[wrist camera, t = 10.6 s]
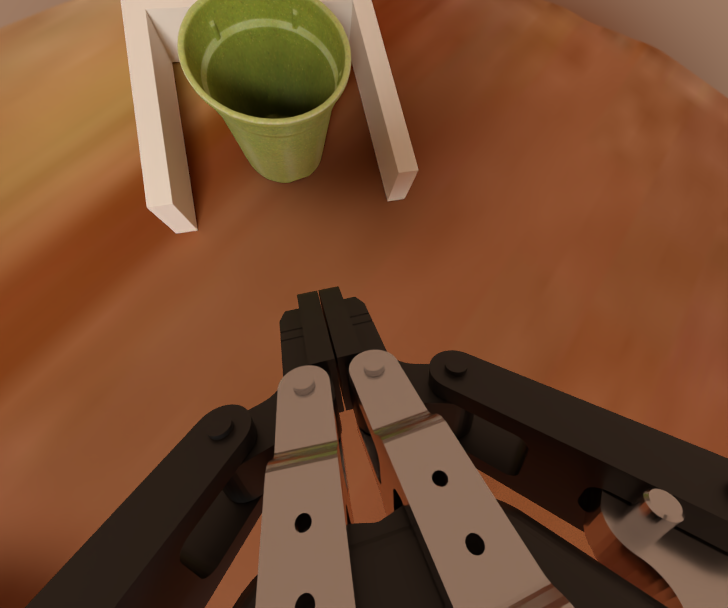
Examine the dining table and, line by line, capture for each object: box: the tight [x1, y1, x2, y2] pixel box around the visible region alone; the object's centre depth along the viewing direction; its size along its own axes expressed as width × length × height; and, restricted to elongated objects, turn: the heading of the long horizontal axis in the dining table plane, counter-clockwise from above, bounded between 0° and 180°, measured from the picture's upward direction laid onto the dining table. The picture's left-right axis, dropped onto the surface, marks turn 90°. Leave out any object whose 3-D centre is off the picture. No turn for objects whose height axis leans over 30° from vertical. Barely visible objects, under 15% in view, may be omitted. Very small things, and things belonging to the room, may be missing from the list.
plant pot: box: [177, 0, 351, 183], centre depth 22 cm, size 9×9×9 cm
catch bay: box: [121, 0, 418, 233], centre depth 24 cm, size 18×16×4 cm
